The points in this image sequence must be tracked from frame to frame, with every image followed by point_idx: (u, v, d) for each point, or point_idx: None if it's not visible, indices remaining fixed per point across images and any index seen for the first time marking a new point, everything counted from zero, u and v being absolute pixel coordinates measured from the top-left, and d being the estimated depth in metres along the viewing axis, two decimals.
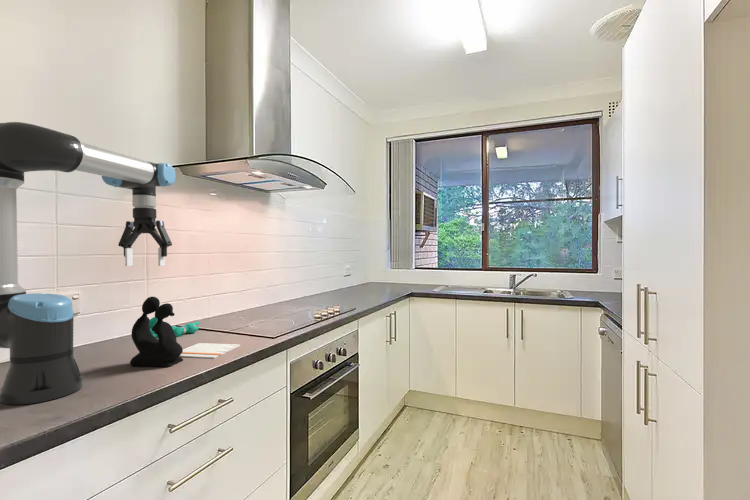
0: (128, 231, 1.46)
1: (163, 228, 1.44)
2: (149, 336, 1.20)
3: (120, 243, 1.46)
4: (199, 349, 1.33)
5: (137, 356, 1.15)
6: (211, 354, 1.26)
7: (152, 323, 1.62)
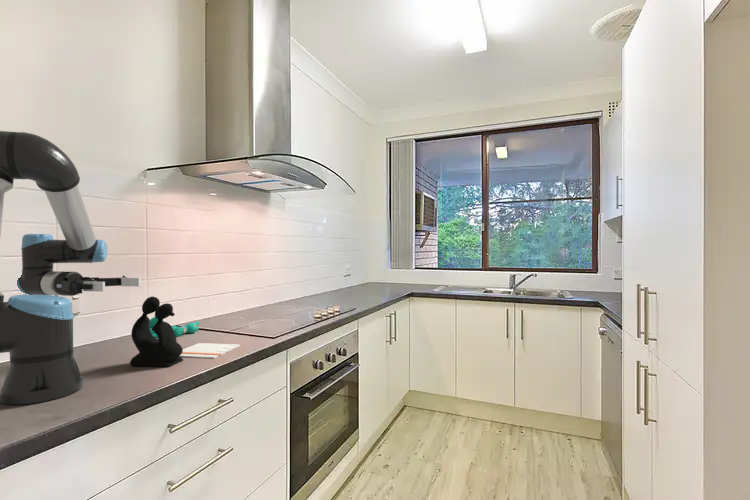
0: None
1: None
2: (149, 336, 1.20)
3: None
4: (199, 349, 1.33)
5: (137, 356, 1.15)
6: (211, 354, 1.26)
7: (152, 323, 1.62)
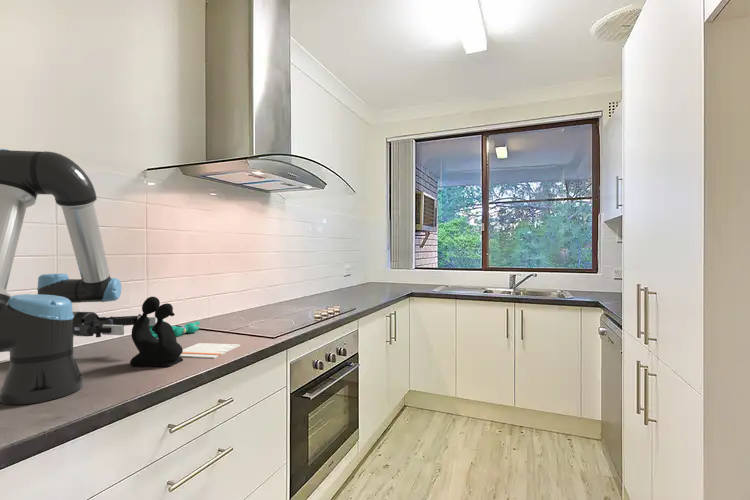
0: None
1: None
2: (149, 336, 1.20)
3: (90, 326, 1.13)
4: (199, 349, 1.33)
5: (137, 356, 1.15)
6: (211, 354, 1.26)
7: None
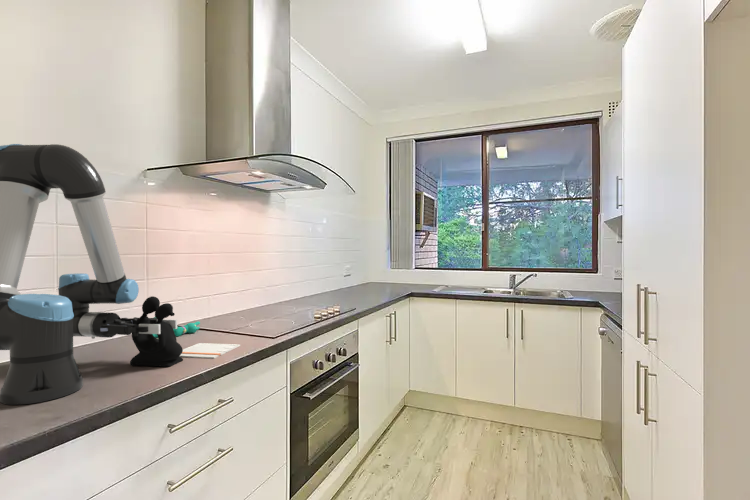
0: None
1: None
2: (149, 336, 1.20)
3: (127, 325, 1.13)
4: (199, 349, 1.33)
5: (137, 356, 1.15)
6: (211, 354, 1.26)
7: None
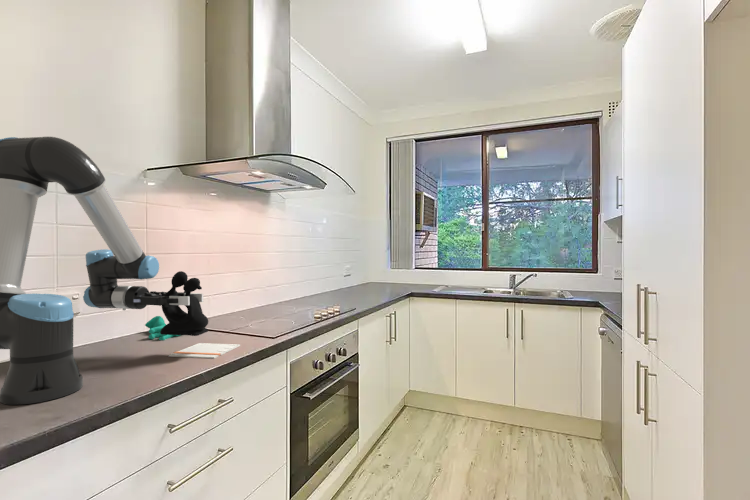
0: None
1: None
2: (177, 308, 1.30)
3: (158, 297, 1.23)
4: (199, 349, 1.33)
5: (167, 326, 1.25)
6: (211, 354, 1.26)
7: (153, 323, 1.62)
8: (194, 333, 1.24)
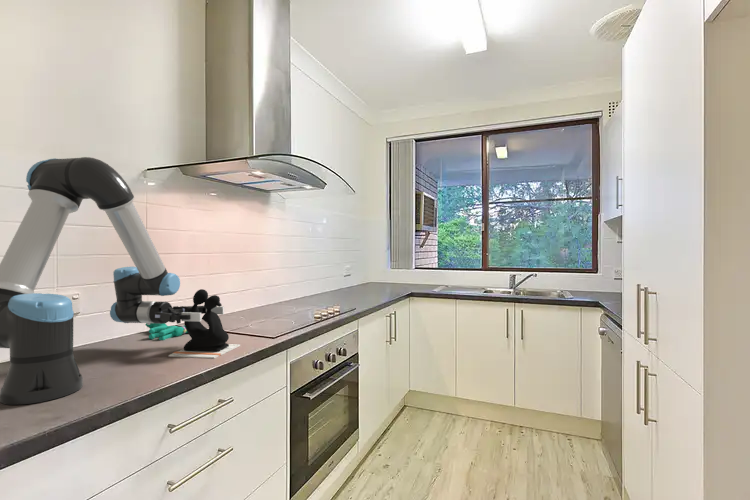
0: None
1: None
2: (199, 324, 1.35)
3: (172, 314, 1.26)
4: None
5: (190, 342, 1.30)
6: (211, 354, 1.26)
7: None
8: (215, 349, 1.29)
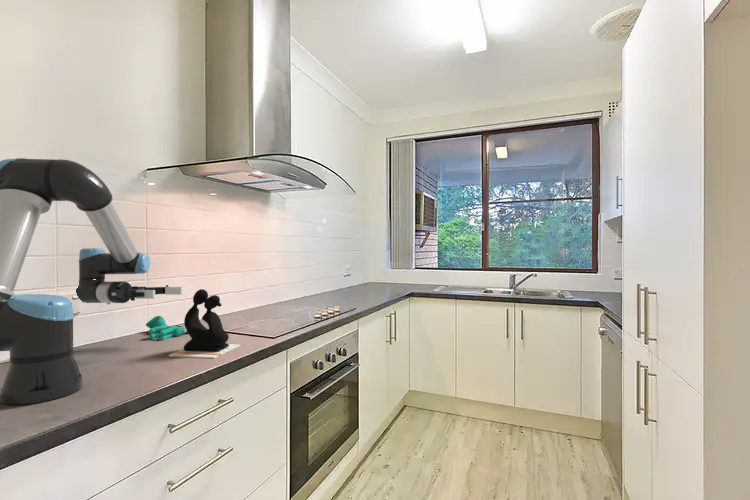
0: None
1: None
2: (199, 324, 1.35)
3: (126, 291, 1.28)
4: None
5: (190, 342, 1.30)
6: (211, 354, 1.26)
7: (154, 322, 1.63)
8: (215, 349, 1.29)
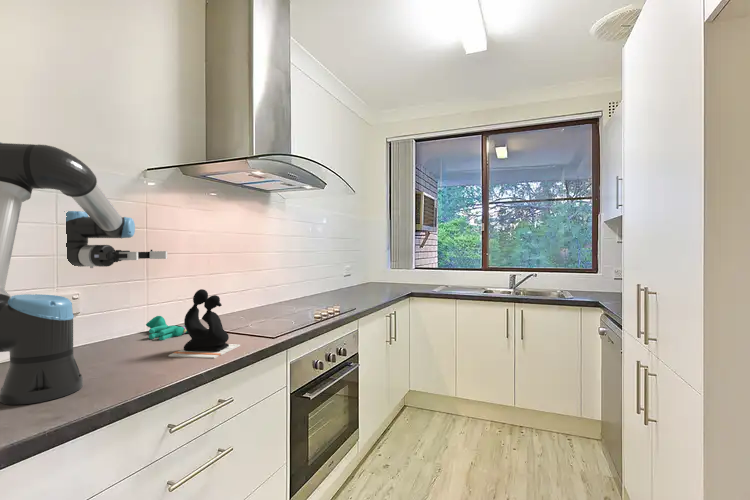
0: None
1: None
2: (199, 324, 1.35)
3: (108, 252, 1.27)
4: None
5: (190, 342, 1.30)
6: (211, 354, 1.26)
7: (154, 322, 1.63)
8: (215, 349, 1.29)
